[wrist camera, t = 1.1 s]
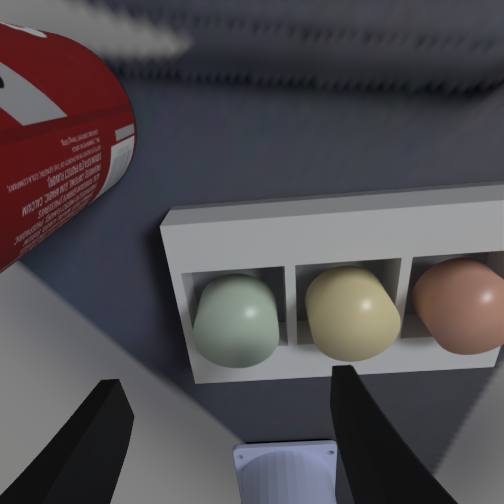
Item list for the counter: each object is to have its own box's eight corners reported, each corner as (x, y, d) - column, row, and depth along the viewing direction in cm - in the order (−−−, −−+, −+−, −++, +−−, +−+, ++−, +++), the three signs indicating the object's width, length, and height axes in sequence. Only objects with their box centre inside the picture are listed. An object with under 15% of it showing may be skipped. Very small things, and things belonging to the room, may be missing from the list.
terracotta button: (482, 320, 18) (513, 352, 16) (406, 324, 18) (427, 357, 16) (501, 254, 16) (539, 281, 14) (417, 260, 16) (441, 287, 14)
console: (467, 335, 21) (493, 366, 19) (201, 351, 22) (195, 383, 20) (510, 179, 17) (551, 196, 14) (172, 206, 17) (159, 226, 15)
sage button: (277, 332, 19) (281, 366, 16) (205, 337, 19) (199, 370, 17) (273, 270, 17) (277, 298, 15) (194, 275, 17) (185, 304, 15)
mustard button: (379, 326, 18) (395, 359, 16) (305, 331, 19) (311, 364, 16) (386, 262, 17) (405, 289, 14) (304, 268, 17) (312, 296, 15)
